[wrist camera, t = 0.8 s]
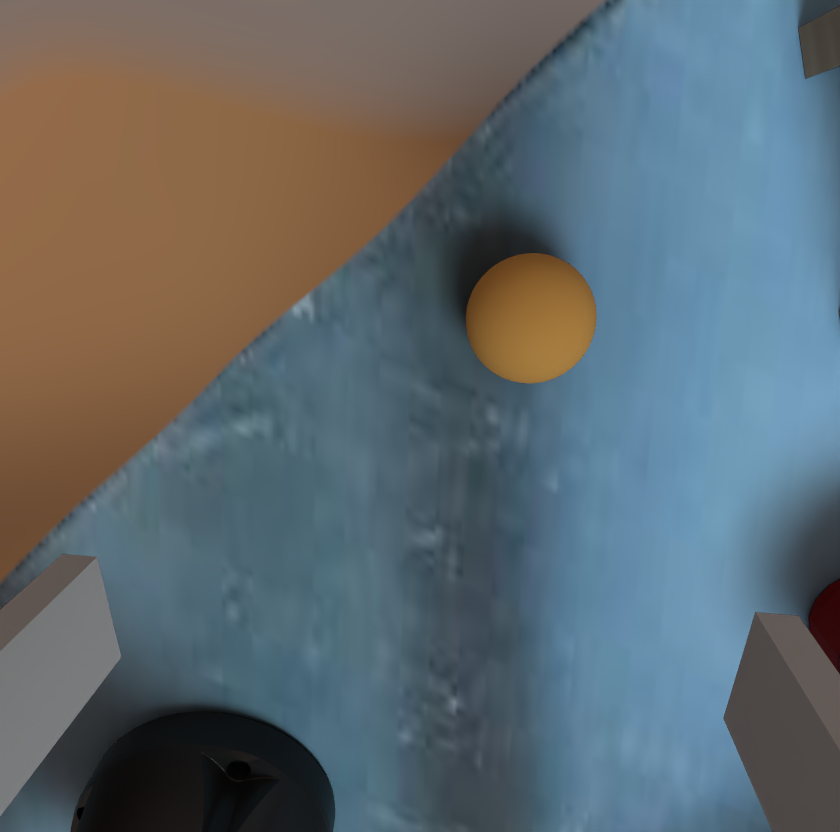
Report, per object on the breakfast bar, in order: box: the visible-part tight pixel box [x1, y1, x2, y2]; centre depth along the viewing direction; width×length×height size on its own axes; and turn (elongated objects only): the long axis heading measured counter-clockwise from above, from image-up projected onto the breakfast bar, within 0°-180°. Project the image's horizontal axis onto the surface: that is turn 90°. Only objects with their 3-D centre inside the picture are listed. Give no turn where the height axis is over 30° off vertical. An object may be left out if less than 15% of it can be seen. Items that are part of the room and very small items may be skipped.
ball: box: [466, 253, 596, 383], centre depth 25 cm, size 6×6×6 cm
